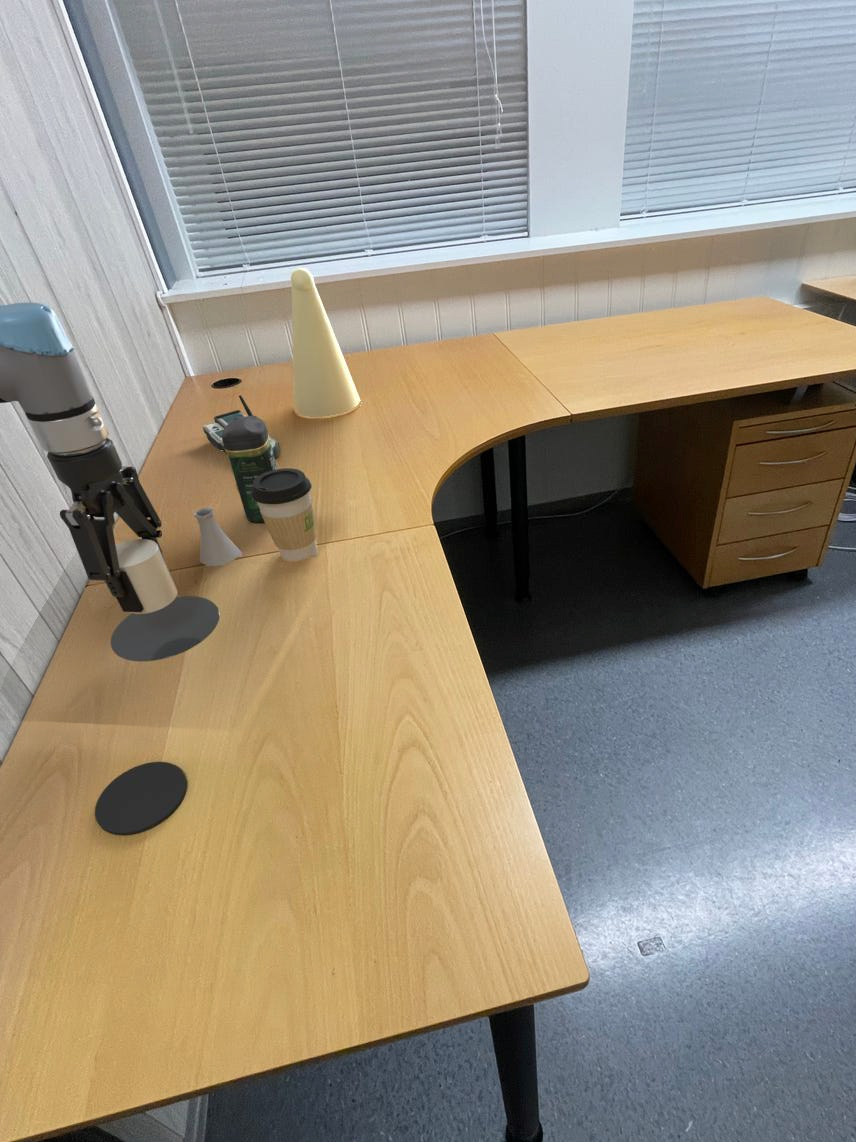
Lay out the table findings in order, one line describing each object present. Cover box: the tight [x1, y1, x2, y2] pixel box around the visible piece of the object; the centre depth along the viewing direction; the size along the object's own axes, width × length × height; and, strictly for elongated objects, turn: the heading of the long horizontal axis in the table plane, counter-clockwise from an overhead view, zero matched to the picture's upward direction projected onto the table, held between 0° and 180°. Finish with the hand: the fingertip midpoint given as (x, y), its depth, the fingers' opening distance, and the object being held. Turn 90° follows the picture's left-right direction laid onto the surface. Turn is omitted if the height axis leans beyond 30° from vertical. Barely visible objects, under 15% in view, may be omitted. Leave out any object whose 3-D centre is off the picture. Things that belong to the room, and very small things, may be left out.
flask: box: [193, 507, 244, 567], centre depth 109 cm, size 7×7×10 cm
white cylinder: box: [108, 538, 178, 614], centre depth 90 cm, size 8×8×8 cm
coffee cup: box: [251, 467, 318, 562], centre depth 107 cm, size 10×10×15 cm
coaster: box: [94, 761, 188, 836], centre depth 73 cm, size 10×10×1 cm
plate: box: [110, 595, 221, 662], centre depth 97 cm, size 16×16×1 cm
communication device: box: [202, 394, 280, 459], centre depth 148 cm, size 12×24×9 cm, turn 39°
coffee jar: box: [222, 415, 278, 524], centre depth 119 cm, size 10×8×19 cm
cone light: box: [290, 267, 361, 417], centre depth 157 cm, size 25×18×35 cm
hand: (148, 593), depth 92 cm, fingers closed on white cylinder, 8 cm apart
